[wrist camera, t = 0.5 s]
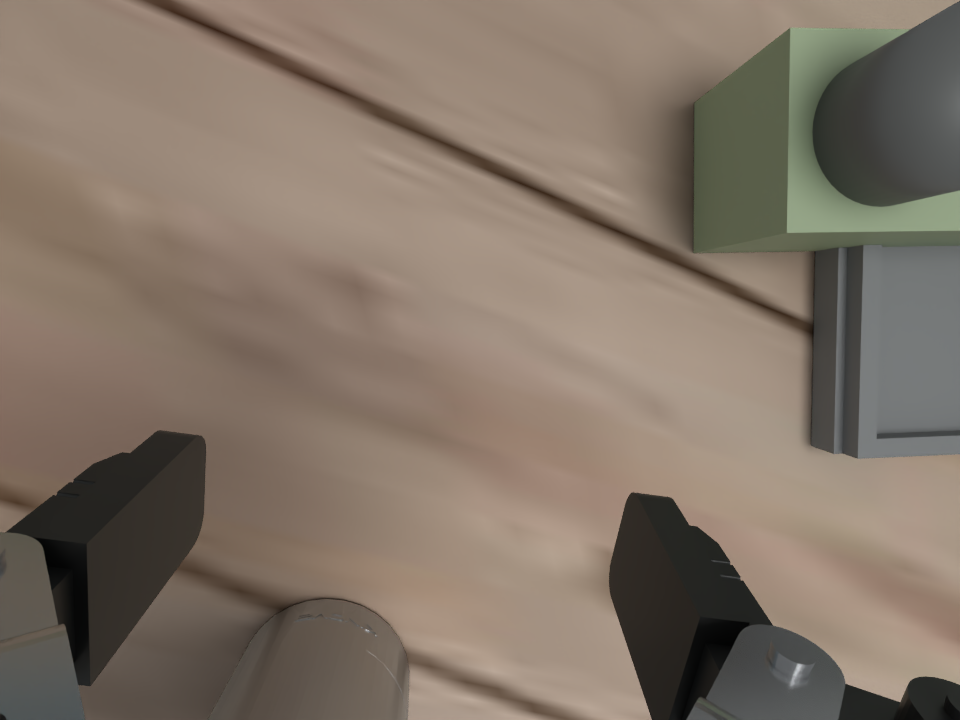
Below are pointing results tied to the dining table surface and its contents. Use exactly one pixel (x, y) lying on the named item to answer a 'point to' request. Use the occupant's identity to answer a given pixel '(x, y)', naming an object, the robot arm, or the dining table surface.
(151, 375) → the dining table surface
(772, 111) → the green block with tray
